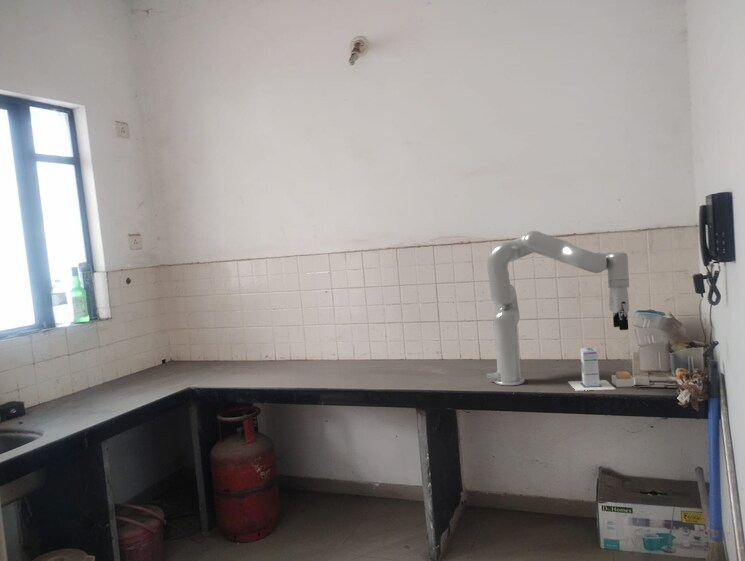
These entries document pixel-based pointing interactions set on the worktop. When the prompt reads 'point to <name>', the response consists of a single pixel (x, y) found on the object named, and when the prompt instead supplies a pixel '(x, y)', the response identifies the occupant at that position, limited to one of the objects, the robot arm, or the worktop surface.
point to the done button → (623, 375)
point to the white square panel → (581, 387)
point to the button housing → (622, 382)
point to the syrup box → (589, 367)
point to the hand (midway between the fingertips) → (620, 328)
